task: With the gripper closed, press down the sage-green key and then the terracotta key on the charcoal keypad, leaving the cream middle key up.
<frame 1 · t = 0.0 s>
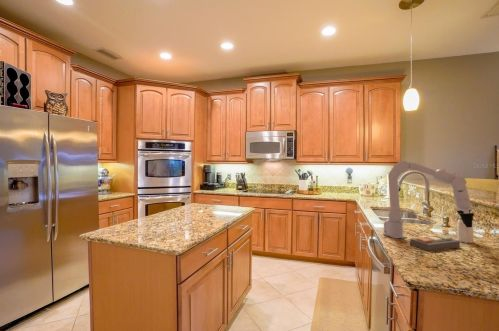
hand: (467, 225, 124), 11 cm above the worktop, tool pointing down, fingers open, 7 cm apart
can: (465, 241, 132), on the worktop
keypad: (434, 245, 125), on the worktop
cream key: (434, 239, 125), point 3 cm above the worktop, slide at 0.0 cm
terracotta key: (424, 240, 123), point 3 cm above the worktop, slide at 0.0 cm
sage key: (444, 238, 126), point 3 cm above the worktop, slide at 0.0 cm
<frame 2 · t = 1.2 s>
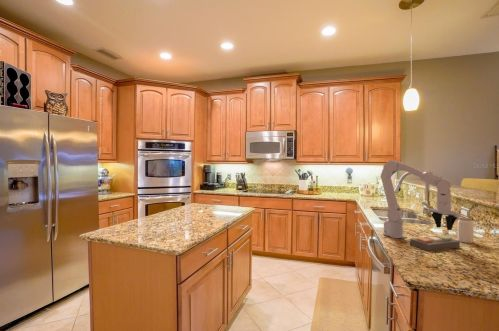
hand: (444, 228, 126), 8 cm above the worktop, tool pointing down, fingers open, 5 cm apart
nothing on the worktop moved.
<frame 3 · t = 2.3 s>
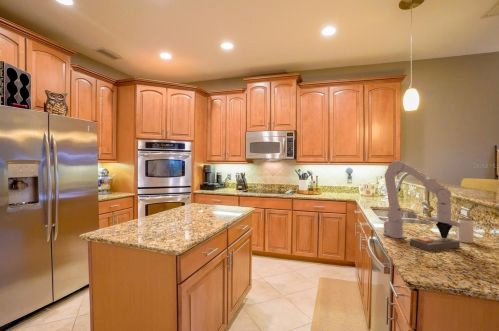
hand: (444, 237, 126), 4 cm above the worktop, tool pointing down, fingers closed, pressing on sage key
sage key: (444, 239, 126), point 3 cm above the worktop, slide at 0.3 cm, touching gripper
everything else where it was.
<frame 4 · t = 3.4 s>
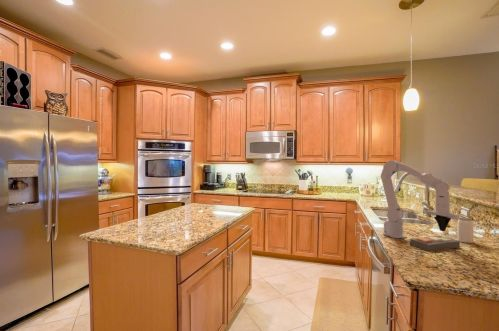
hand: (442, 230, 126), 7 cm above the worktop, tool pointing down, fingers closed
sage key: (444, 240, 126), point 2 cm above the worktop, slide at 0.9 cm
everything else where it was.
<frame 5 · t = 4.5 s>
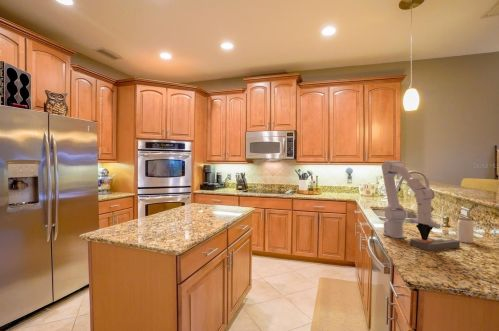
hand: (424, 239, 123), 4 cm above the worktop, tool pointing down, fingers closed, pressing on terracotta key
terracotta key: (424, 241, 123), point 3 cm above the worktop, slide at 0.1 cm, touching gripper
everything else where it was.
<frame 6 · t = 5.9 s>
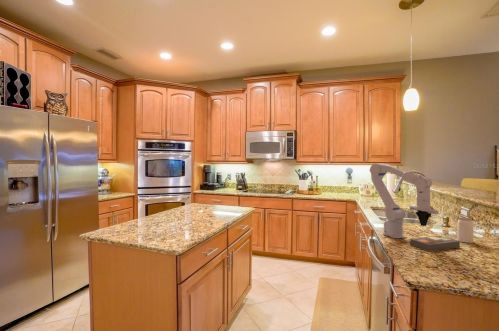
hand: (423, 225, 129), 9 cm above the worktop, tool pointing down, fingers closed
terracotta key: (424, 242, 123), point 2 cm above the worktop, slide at 0.9 cm
everything else where it was.
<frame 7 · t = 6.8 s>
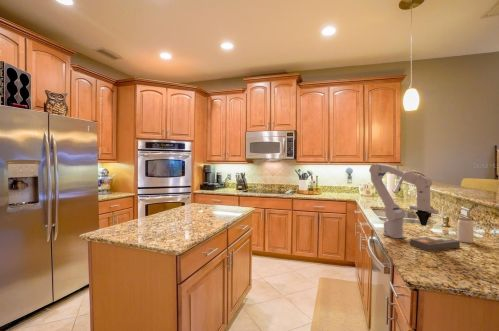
hand: (423, 225, 129), 9 cm above the worktop, tool pointing down, fingers closed
nothing on the worktop moved.
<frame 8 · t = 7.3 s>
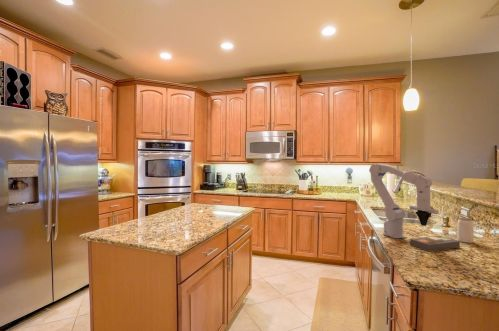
hand: (423, 225, 129), 9 cm above the worktop, tool pointing down, fingers closed
nothing on the worktop moved.
at the end: sage key slide at 0.9 cm; terracotta key slide at 0.9 cm; cream key slide at 0.0 cm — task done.
